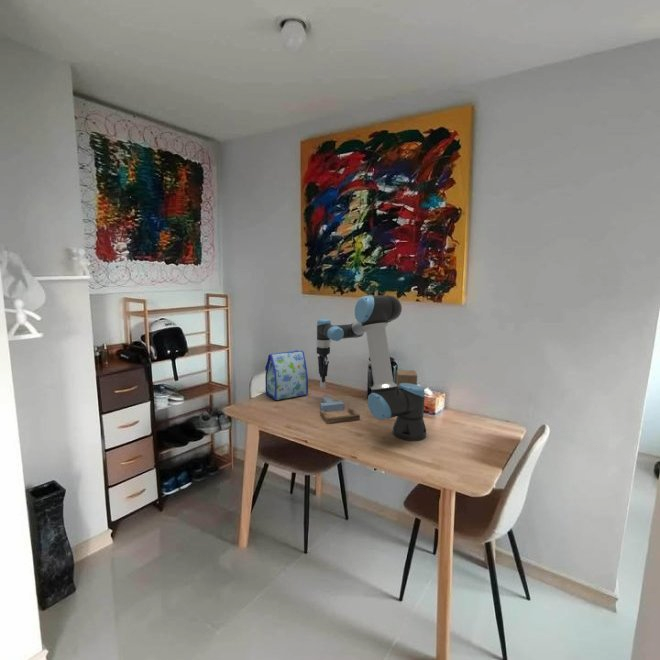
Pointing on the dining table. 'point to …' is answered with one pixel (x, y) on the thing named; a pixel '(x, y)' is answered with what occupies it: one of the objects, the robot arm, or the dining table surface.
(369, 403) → the robot arm
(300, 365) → the lunch bag
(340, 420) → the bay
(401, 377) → the wooden block
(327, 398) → the tee
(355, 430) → the dining table surface
